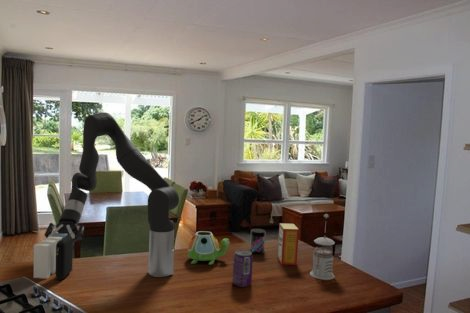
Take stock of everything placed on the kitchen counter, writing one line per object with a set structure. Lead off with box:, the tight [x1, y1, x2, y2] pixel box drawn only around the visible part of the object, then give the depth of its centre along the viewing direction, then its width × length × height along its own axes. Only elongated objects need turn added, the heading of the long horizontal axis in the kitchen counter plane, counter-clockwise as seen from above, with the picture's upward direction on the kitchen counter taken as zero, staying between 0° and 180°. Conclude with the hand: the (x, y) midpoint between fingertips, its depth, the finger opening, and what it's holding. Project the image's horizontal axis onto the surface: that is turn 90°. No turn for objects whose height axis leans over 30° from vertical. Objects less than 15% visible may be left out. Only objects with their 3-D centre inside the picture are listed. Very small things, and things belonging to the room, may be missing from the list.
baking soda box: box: [277, 222, 300, 266], centre depth 165 cm, size 10×6×16 cm
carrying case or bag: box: [55, 235, 74, 281], centre depth 137 cm, size 11×3×15 cm, turn 1°
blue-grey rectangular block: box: [53, 232, 68, 238], centre depth 150 cm, size 2×5×12 cm, turn 89°
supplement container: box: [249, 228, 266, 255], centre depth 175 cm, size 7×7×10 cm
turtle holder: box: [187, 230, 230, 265], centre depth 162 cm, size 12×18×12 cm
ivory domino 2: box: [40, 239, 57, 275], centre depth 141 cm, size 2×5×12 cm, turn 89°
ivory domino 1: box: [33, 243, 51, 280], centre depth 136 cm, size 2×5×12 cm, turn 89°
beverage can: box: [231, 249, 254, 288], centre depth 139 cm, size 7×7×12 cm
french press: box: [309, 213, 336, 281], centre depth 150 cm, size 10×12×25 cm
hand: (58, 248), depth 148 cm, fingers open, 8 cm apart
